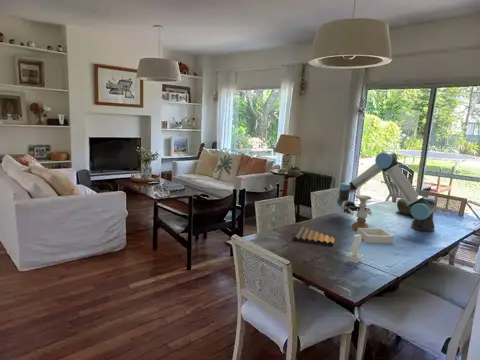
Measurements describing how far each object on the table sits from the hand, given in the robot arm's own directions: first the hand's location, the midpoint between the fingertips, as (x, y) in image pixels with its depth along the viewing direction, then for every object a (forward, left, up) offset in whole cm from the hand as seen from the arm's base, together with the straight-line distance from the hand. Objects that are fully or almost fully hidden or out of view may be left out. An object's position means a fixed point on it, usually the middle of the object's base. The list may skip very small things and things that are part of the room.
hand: (362, 213), depth 246 cm
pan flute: (+37, +18, -13) cm, 43 cm away
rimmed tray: (-2, +18, -12) cm, 22 cm away
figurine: (+25, +56, -12) cm, 63 cm away
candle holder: (0, -1, -12) cm, 12 cm away
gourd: (-62, -47, -12) cm, 79 cm away
